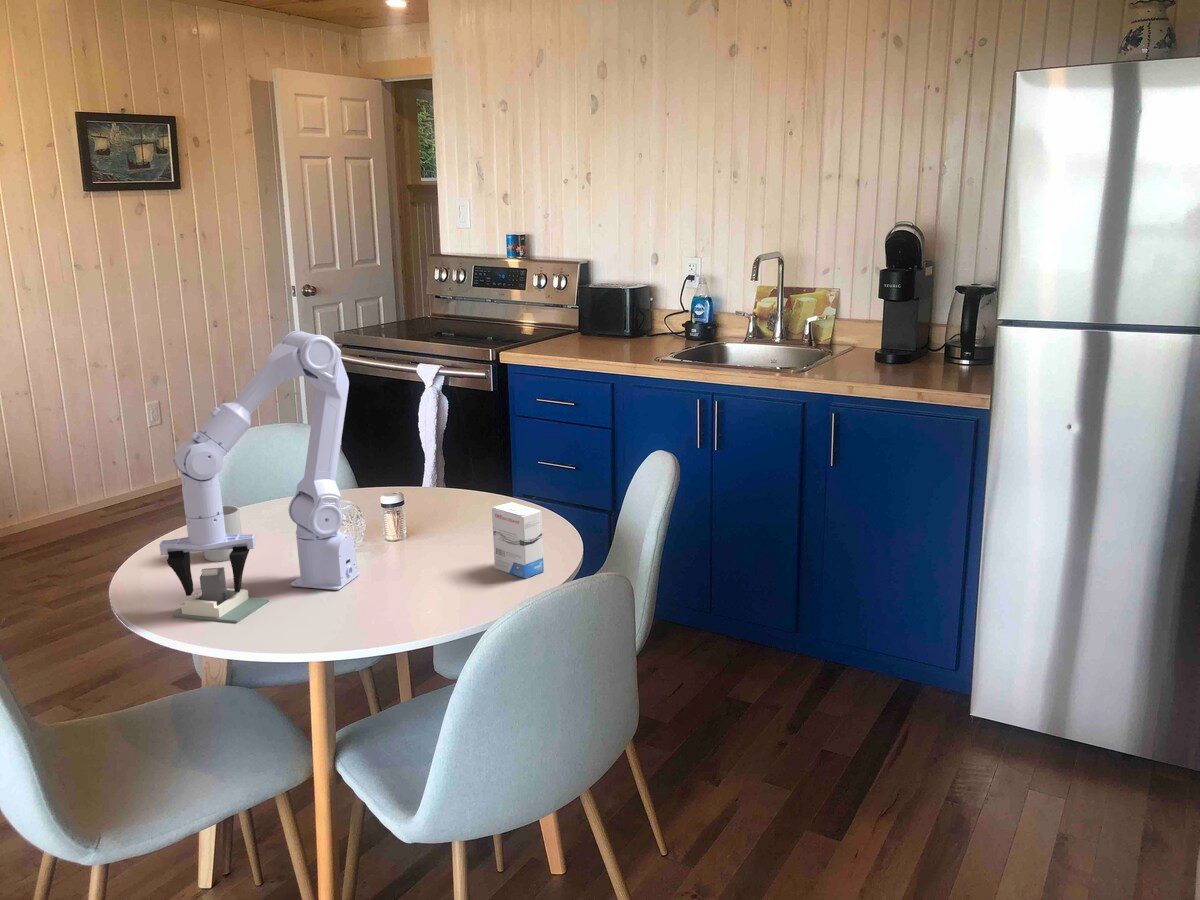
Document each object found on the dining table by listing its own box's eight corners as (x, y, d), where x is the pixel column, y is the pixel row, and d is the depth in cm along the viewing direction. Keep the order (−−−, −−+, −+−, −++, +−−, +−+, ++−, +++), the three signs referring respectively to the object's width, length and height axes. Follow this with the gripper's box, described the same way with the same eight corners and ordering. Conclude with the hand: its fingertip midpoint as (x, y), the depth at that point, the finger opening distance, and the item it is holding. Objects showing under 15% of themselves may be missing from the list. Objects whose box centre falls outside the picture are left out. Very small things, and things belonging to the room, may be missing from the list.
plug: (228, 600, 164) (223, 561, 162) (222, 610, 160) (218, 570, 158) (209, 602, 163) (204, 563, 162) (203, 611, 159) (198, 571, 158)
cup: (230, 563, 183) (225, 518, 181) (183, 560, 185) (177, 515, 183) (251, 550, 190) (246, 506, 187) (205, 547, 192) (200, 504, 189)
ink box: (545, 571, 175) (543, 509, 172) (525, 579, 172) (522, 516, 169) (513, 561, 181) (511, 500, 178) (493, 568, 177) (490, 506, 174)
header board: (268, 601, 164) (267, 585, 163) (236, 623, 156) (234, 606, 155) (207, 595, 167) (205, 580, 166) (172, 616, 159) (170, 600, 158)
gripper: (255, 503, 163) (263, 579, 166) (164, 509, 160) (174, 586, 164) (247, 516, 156) (256, 594, 159) (152, 522, 154) (163, 602, 157)
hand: (214, 591), depth 161 cm, fingers open, 7 cm apart
